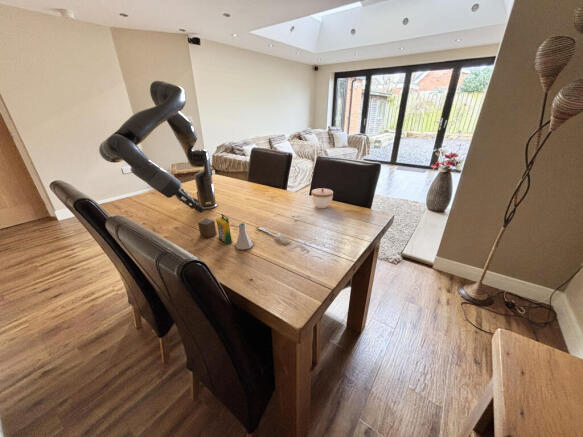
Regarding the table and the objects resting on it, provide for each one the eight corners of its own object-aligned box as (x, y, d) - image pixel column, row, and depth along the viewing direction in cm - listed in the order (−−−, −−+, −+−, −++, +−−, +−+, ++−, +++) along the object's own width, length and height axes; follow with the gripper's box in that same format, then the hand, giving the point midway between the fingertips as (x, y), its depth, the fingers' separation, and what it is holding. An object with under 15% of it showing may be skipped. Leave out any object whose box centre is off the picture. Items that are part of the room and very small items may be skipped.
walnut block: (200, 236, 108) (197, 222, 105) (208, 231, 112) (206, 218, 109) (208, 238, 106) (205, 224, 103) (216, 233, 110) (214, 220, 107)
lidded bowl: (308, 208, 137) (308, 190, 132) (314, 201, 147) (315, 184, 143) (329, 211, 132) (330, 192, 128) (334, 203, 143) (335, 186, 138)
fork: (262, 231, 117) (261, 226, 116) (290, 242, 102) (289, 237, 101) (257, 233, 115) (256, 228, 114) (285, 245, 100) (284, 239, 99)
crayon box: (218, 238, 106) (215, 214, 101) (225, 235, 108) (221, 212, 103) (225, 244, 101) (222, 220, 96) (232, 242, 103) (228, 218, 98)
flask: (236, 241, 103) (234, 221, 99) (253, 240, 104) (251, 220, 99) (234, 250, 97) (231, 229, 92) (252, 249, 97) (250, 228, 93)
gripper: (175, 179, 79) (211, 206, 90) (167, 170, 89) (200, 195, 100) (159, 195, 78) (198, 221, 89) (153, 185, 88) (189, 208, 99)
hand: (199, 207), depth 94 cm, fingers open, 8 cm apart
